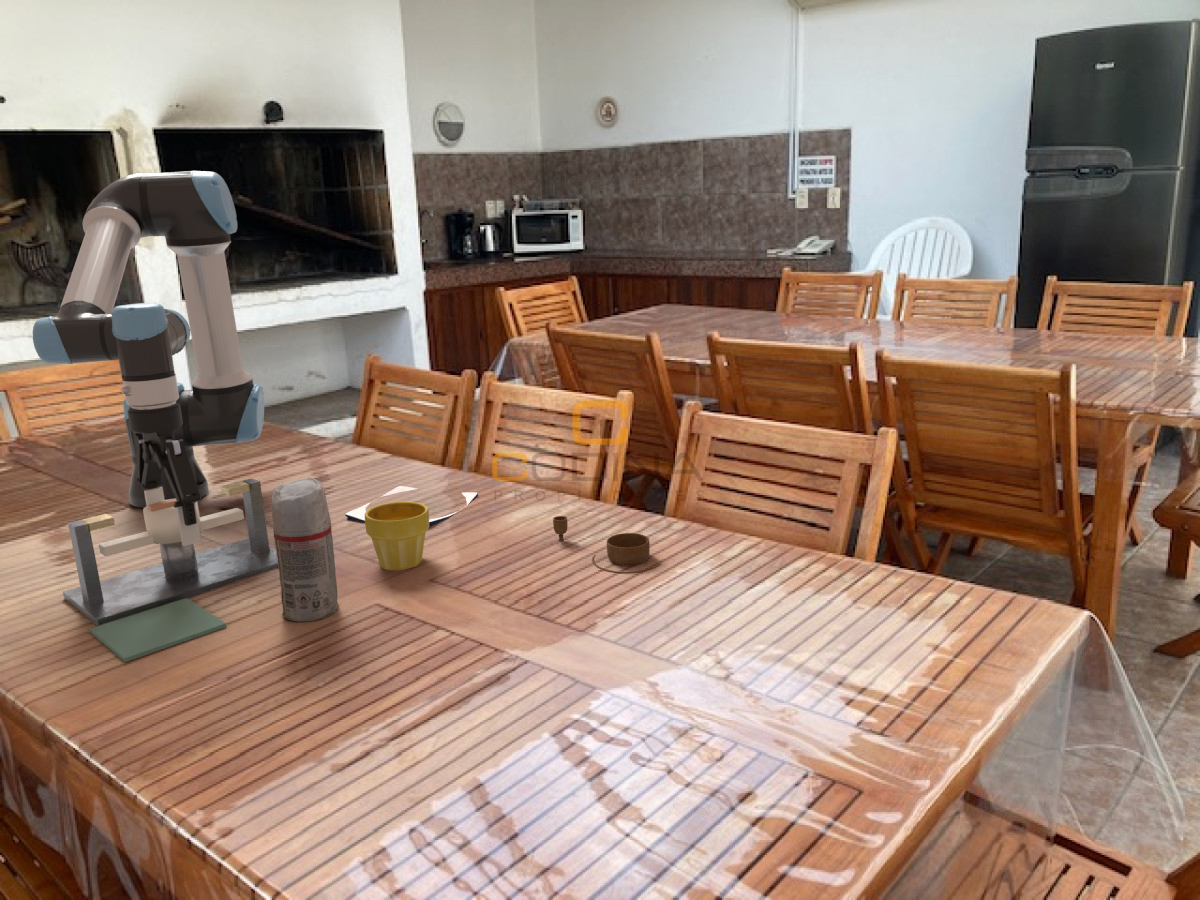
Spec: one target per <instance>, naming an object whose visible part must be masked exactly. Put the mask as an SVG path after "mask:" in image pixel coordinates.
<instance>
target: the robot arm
mask: <svg viewBox="0 0 1200 900" xmlns="http://www.w3.org/2000/svg"><path fill="white" fill-rule="evenodd" d="M232 197H233V196H232V194H231V192H230V189H229V187H228V184H227V183H226V182H225V179H224V178H223V177H222V176H221V175H220V174H218V173H217V172H214V171H204V170H203V171H201V170H190V171H189V170H188V171H174V172H173V171H171V172H151V173H149V172H148V173H145V172H143V173H142V172H141V173H131V174H129V175H125V176H123V177H121V178H118V179H117V180H115V181H113V182H112V183H110V184H108V185H107V186H106V187H104V189H102V190H101V191H100V192H99V193H98V194H97V195H96V197H94V198H93V199H92V200H91V203H90V204H89V205H88V207H87V208H86V211H85V213H84V216H83V219H82V228H83V232H84V236H83V240H82V243H81V246H80V249H79V251H78V254H77V257H76V261H75V263H74V266H73V269H72V270H71V271H72V272H71V275H70V278H69V281H68V284H67V286H66V289H65V292H64V295H63V298H62V301H61V304H60V308H59V309H58V312H57V314H56V316H53V315H49V316H48V317H40V318H39V319H38V320H36V321H35V322H34V324H33V327H32V342H33V343H32V344H33V347H34V349H35V352H36V353H37V354H36V355H38V358H39V359H40V360H41V361H43V362H44V363H47V364H50V365H51V364H53V365H55V364H58V365H59V364H63V365H64V364H65V365H66V364H68V365H73V364H81V363H82V364H83V363H84V364H86V363H96V362H110V361H118V364H119V369H120V374H121V380H122V386H123V387H121V388H120V393H121V394H124V398H123V400H122V406H123V414H124V415H123V416H124V417H123V421H124V422H125V423H124V424H125V428H126V432H127V439H128V444H129V450H130V455H131V461H132V472H131V476H130V483H129V488H128V498H129V504H130V505H131V506H132V507H134V508H135V507H136V508H143V509H144V508H145V507H146V506H147V505H150V504H153V503H155V502H159V501H163V500H168V499H175V498H176V500H177V502H175V503H174V507H175V508H176V512H177V518H178V524H179V530H180V536H181V542H182V546H187V545H190V544H194V545H195V544H197V543H200V542H202V537H201V534H200V531H199V525H198V518H197V512H196V506H195V503H196V502H197V503H198V502H200V501H201V499H202V498H203V497H205V496H207V495H208V494H209V492H210V489H209V483H208V482H209V481H208V479H207V477H206V476H205V474H204V472H203V471H202V469H201V467H200V464H199V463H198V461H197V460H196V457H195V451H194V447H200V446H202V447H203V446H213V445H214V446H216V445H226V444H240V443H247V442H253V441H256V440H257V439H259V438H260V436H261V433H262V431H263V427H264V418H265V393H264V389H263V386H262V385H261V384H257V383H255V384H254V380H253V376H252V374H250V373H249V372H248V371H247V370H245V369H244V368H243V367H244V366H243V362H242V361H243V360H242V355H241V350H240V349H241V348H240V342H239V337H238V336H239V335H238V330H237V324H236V318H235V316H236V315H235V312H234V311H235V310H234V305H233V299H232V298H233V297H232V292H231V286H230V285H231V284H230V279H229V272H228V267H227V261H226V254H225V251H226V250H227V248H228V247H229V245H230V244H231V243H232V241H231V235H232V234H234V233H236V232H237V230H238V220H237V211H236V208H235V204H234V200H233V198H232ZM147 237H164V238H165V243H166V247H167V248H168V249H169V250H171V251H172V252H173V253H175V255H176V256H177V262H178V267H179V272H180V279H181V284H182V290H183V291H182V292H183V295H184V302H185V309H186V313H187V318H188V321H187V319H186V318H185V316H184V315H182V314H181V313H180V312H178V311H176V310H174V309H169V308H165V307H164V306H163V305H162V304H160V303H157V302H145V303H144V302H143V303H142V302H141V303H130V304H122V305H117V306H115V303H116V301H117V297H118V294H119V290H120V286H121V284H122V280H123V276H124V273H125V270H126V267H127V263H128V259H129V256H130V252H131V250H132V249H134V248H135V247H136V246H137V245H138V244H139V242H140V241H141V239H142V238H147ZM114 306H115V307H114ZM190 338H191V340H192V341H191V342H192V347H193V353H194V357H195V364H196V370H197V375H196V376H195V377H194V379H193V380H192V381H191V388H192V389H185V386H184V385H183V383H182V382H178V381H177V380H178V379H177V376H176V374H177V373H176V372H175V366H174V359H173V356H175V355H176V354H178V353H180V352H181V351H182V350H184V349H185V348H184V347H186V345H187V344H188V343H189V341H190ZM187 495H188V496H187Z"/></svg>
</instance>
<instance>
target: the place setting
mask: <svg viewBox="0 0 1200 900" xmlns="http://www.w3.org/2000/svg"><path fill="white" fill-rule="evenodd" d="M552 523H553V524H552V525H553V531H554V533H555V534H557V535H558V542H559V543H561V542H562V543H563V542H565V539H564V535H565V534H566V533H567V531H568V528H569V527H568V517H567V516H565V515H558V516H554V517H553V518H552ZM650 551H651V550H650V538H649V537H648V536H647V535H644V534H642V533H641V534H640V533H634V532H626V533H625V532H623V533H617V534H614V535H611V536H609V537H608V538H607V539H606V554H607V558H608V560H609V561H610V562H611V563H613V564H615V565H618V566H622V567H623V566H626V567H627V566H628V567H630V566H637V565H639V564H640V565H641V564H643V563H645V562H646V561H647V560H648V558H649V556H650ZM595 557H597V554H594V555H593V556H592V558H591V562H592V565H593V566H594V567H596V568H597V569H599V570H601V571H605V572H608V573H615V574H638V573H643V572H647V571H650V570H653V569H656V568H658V567H660V566H661V565H662V563H658V564H657V565H655V566H653V567H649V568H646V569H642V570H636V571H635V570H634V571H633V570H631V571H619V570H611V569H608V568H607V569H606V568H603V567H602V566H599V565H598V564H597V563H596V562H595Z"/></svg>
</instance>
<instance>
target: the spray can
mask: <svg viewBox="0 0 1200 900" xmlns="http://www.w3.org/2000/svg"><path fill="white" fill-rule="evenodd" d="M271 496H272V497H271V498H272V499H271V515H272V516H271V517H272V526H273V529H272V530H273V531H272V532H273V540H274V545H275V546H274V547H275V550H276V555H277V559H278V567H277V568H278V573H279V582H280V583H279V584H280V594H281V595H280V596H281V597H280V598H281V605H282V614H281V615H282V617H283V618H285V619H287V620H288V621H291V622H314V621H318V620H321V619H324V618H327V617H330V616H332V615H333V614H335V613H336V612H337V611H338V609H339V607H340V605H339V602H338V598H339V597H338V581H337V577H336V576H337V574H336V573H337V572H336V562H335V561H336V560H335V553H334V552H335V551H334V540H333V534H332V532H333V531H332V519H331V515H330V511H329V506H328V502H327V496H326V490H325V487H324V484H323V483H322V482H321V481H320V480H318V479H316V478H313V477H311V476H310V477H309V476H308V477H305V478H301V479H293V480H292V481H288V482H285V481H284V482H281V483H278V484H277V485H276V486H275V487H274V488H273V490H272V495H271Z"/></svg>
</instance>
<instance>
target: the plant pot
mask: <svg viewBox="0 0 1200 900" xmlns="http://www.w3.org/2000/svg"><path fill="white" fill-rule="evenodd" d="M429 512H430V511H429V508H428V506H427V505H426V504H424V503H422V502H417V501H409V500H408V501H407V500H406V501H404V500H403V501H391V502H387V503H386V502H385V503H381V504H378V505H375V506H373V507H370V508H369V509H367V510H366V513H365V523H364V525H365V532H366V535H367V536H369V537H370V538H371V540H372V545H373V547H374V551H375V555H376V557H377V561H378V563H379V566H380V568H381V569H384V570H387V571H403V570H407V569H410V568H413V567H416V566H418V565H420V564H421V563H422V560H423V553H424V547H425V539H426V533H427V531H428V530H429V528H430V526H429V519H430V513H429Z"/></svg>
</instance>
